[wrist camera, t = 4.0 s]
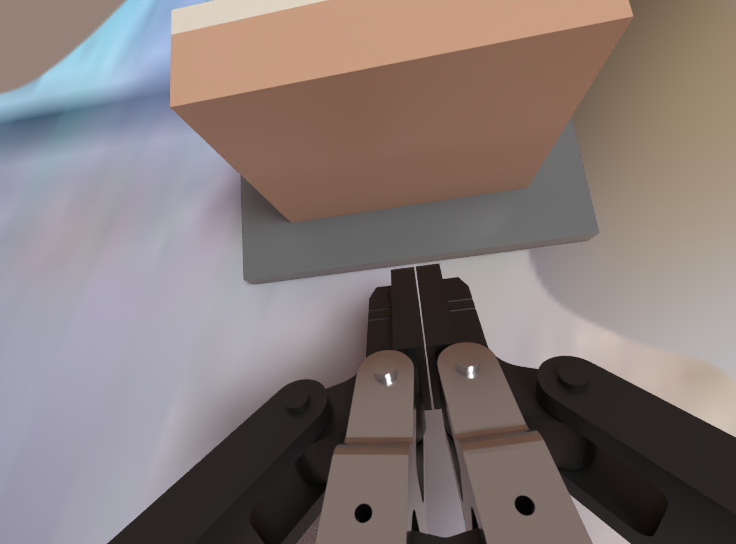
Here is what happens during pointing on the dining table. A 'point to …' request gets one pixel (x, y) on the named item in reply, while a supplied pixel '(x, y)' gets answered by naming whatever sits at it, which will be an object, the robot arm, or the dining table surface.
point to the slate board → (423, 225)
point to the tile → (385, 93)
